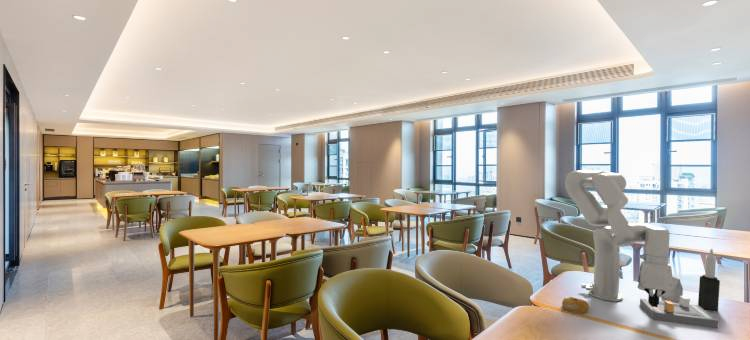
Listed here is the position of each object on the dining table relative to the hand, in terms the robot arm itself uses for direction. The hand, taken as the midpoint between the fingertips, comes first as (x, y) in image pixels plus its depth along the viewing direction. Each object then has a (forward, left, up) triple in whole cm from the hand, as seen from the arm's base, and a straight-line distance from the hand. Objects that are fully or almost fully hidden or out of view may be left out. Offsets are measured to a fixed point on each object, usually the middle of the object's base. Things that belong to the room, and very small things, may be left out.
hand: (653, 305), depth 143 cm
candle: (+25, +18, -5) cm, 31 cm away
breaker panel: (+9, +4, -5) cm, 11 cm away
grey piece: (+15, +25, -5) cm, 29 cm away
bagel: (-27, -2, -5) cm, 28 cm away
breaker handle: (+5, 0, -1) cm, 5 cm away
